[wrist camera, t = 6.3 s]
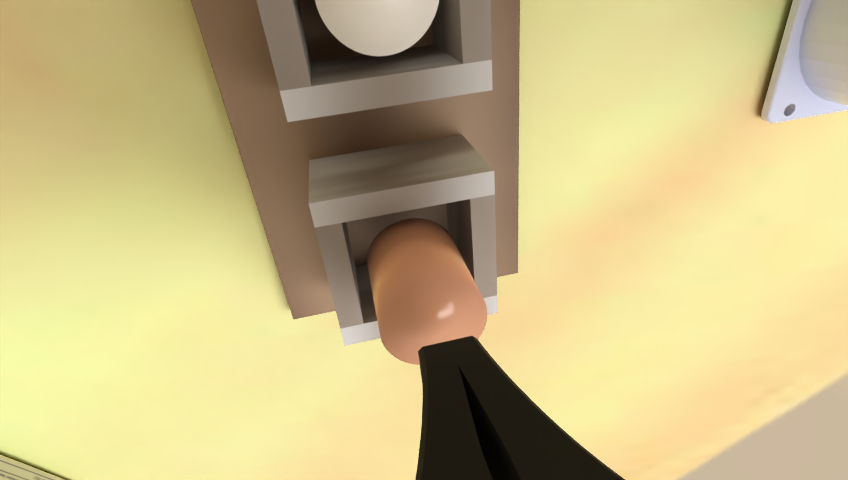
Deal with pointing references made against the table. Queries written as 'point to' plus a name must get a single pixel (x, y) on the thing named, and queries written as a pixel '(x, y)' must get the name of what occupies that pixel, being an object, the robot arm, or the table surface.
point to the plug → (377, 23)
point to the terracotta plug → (422, 288)
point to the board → (371, 142)
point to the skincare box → (22, 471)
